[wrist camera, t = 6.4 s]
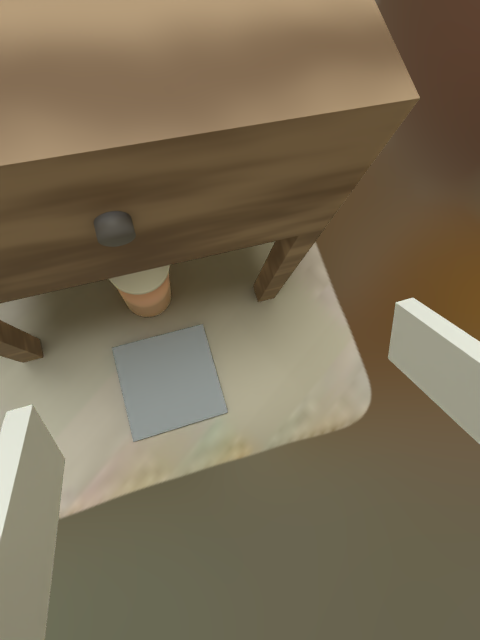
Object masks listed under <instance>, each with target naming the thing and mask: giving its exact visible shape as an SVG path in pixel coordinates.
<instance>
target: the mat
mask: <svg viewBox="0 0 480 640" xmlns="http://www.w3.org/2000/svg"><path fill="white" fill-rule="evenodd" d="M112 351H113V355H114V359H115V364H116V368H117V372H118V377H119V381H120V385H121V390H122V394H123V398H124V403H125V407H126V411H127V416H128V420H129V424H130V429H131V433H132V437H133V442H135V441H138V440H141V439H144V438H147V437H151V436H154V435H157V434H160V433H163V432H167V431H170V430H173V429H176V428H179V427H183V426H186V425H189V424H192V423H195V422H199V421H202V420H205V419H208V418H211V417H215V416H218V415H221V414H224V413H228V411H227V408H226V404H225V400H224V397H223V393H222V390H221V386H220V383H219V379H218V376H217V372H216V369H215V365H214V362H213V358H212V355H211V351H210V348H209V344H208V341H207V337H206V334H205V330H204V327H203V324H201V325H197V326H193V327H189V328H186V329H182V330H178V331H174V332H170V333H166V334H163V335H159V336H155V337H151V338H147V339H143V340H140V341H136V342H132V343H128V344H124V345H120V346H117V347H113V348H112Z"/></svg>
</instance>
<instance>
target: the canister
mask: <svg viewBox="0 0 480 640" xmlns="http://www.w3.org/2000/svg"><path fill="white" fill-rule="evenodd" d="M169 269H170V265H167V266H163V267H158V268H154V269H149V270H145V271H141V272H136V273H132V274H127V275H123V276H119V277H114V278H110V279H109V280H110V281H111V283H112V284H113V285H114V286H115V287H116V288H117V289H118V291H119V293H120V294H121V296H122V298H123V300H124V301H125V303H126V305H127V306H128V308H129V309H130V310H131V311H132V312H133V313H135V314H136V315H139V316H142V317H153V316H156V315H159V314H160V313H162V312H163V311H164V310H165V309H166V308H167V307H168V305H169V303H170V301H171V287H170V279H169Z"/></svg>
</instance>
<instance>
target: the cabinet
mask: <svg viewBox="0 0 480 640" xmlns="http://www.w3.org/2000/svg"><path fill="white" fill-rule="evenodd" d="M419 99H420V97H419V95H418V93H417V91H416V89H415V86H414V84H413V82H412V80H411V78H410V76H409V73H408V71H407V69H406V67H405V65H404V63H403V61H402V59H401V57H400V54H399V52H398V50H397V48H396V45H395V43H394V41H393V39H392V37H391V35H390V33H389V30H388V28H387V26H386V24H385V22H384V20H383V17H382V15H381V13H380V11H379V9H378V7H377V4H376V3H375V0H0V303H4V302H8V301H13V300H17V299H22V298H26V297H30V296H35V295H39V294H44V293H48V292H52V291H57V290H61V289H66V288H70V287H74V286H79V285H83V284H88V283H92V282H97V281H101V280H105V279H110V278H114V277H119V276H123V275H127V274H132V273H136V272H141V271H145V270H149V269H154V268H158V267H163V266H167V265H172V264H176V263H180V262H185V261H189V260H194V259H198V258H202V257H207V256H211V255H216V254H220V253H225V252H229V251H233V250H238V249H242V248H247V247H251V246H255V245H260V244H264V243H269V242H273V241H275V243H274V245H273V247H272V249H271V251H270V253H269V255H268V257H267V259H266V261H265V263H264V265H263V267H262V269H261V271H260V273H259V275H258V278H257V280H256V282H255V284H254V286H253V287H254V291H255V294H256V297H257V300H258V302H260V301H264V300H268V299H272V298H274V297H275V296H276V295H277V293H278V292H279V290H280V289H281V288H282V286H283V285H284V284H285V282H286V281H287V279H288V278H289V277H290V275H291V274H292V273H293V271H294V270H295V269H296V267H297V266H298V264H299V263H300V262H301V260H302V259H303V258H304V256H305V255H306V253H307V252H308V251H309V249H310V248H311V247H312V245H313V244H314V243H315V241H316V240H317V238H318V237H319V236H320V234H321V233H322V231H323V230H324V229H325V227H326V226H327V224H328V223H329V222H330V221H331V219H332V218H333V216H334V215H335V214H336V212H337V211H338V210H339V208H340V207H341V205H342V204H343V203H344V201H345V200H346V199H347V197H348V196H349V195H350V193H351V192H352V190H353V189H354V188H355V186H356V185H357V184H358V182H359V181H360V179H361V178H362V177H363V175H364V174H365V172H366V171H367V170H368V168H369V167H370V166H371V164H372V163H373V162H374V160H375V159H376V158H377V156H378V155H379V153H380V152H381V151H382V149H383V148H384V147H385V145H386V144H387V143H388V141H389V140H390V138H391V137H392V136H393V134H394V133H395V132H396V130H397V129H398V127H399V126H400V125H401V123H402V122H403V121H404V119H405V118H406V116H407V115H408V114H409V112H410V111H411V110H412V108H413V107H414V106H415V104H416V103H417V101H418V100H419ZM0 356H3V357H6V358H10V359H13V360H16V361H20V362H27V361H31V360H35V359H39V358H43V353H42V348H41V342H40V339H38V338H36V337H34V336H32V335H30V334H28V333H26V332H24V331H22V330H20V329H17V328H15V327H13V326H11V325H9V324H7V323H5V322H3V321H1V320H0Z"/></svg>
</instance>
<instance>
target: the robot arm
mask: <svg viewBox="0 0 480 640" xmlns="http://www.w3.org/2000/svg"><path fill="white" fill-rule="evenodd" d="M388 359H389V360H390V361H391V362H392V363H393V364H395V365H396V366H397V367H398V368H399V369H400V370H401V371H402V372H403V373H404V374H405V375H406V376H407V377H408V378H410V379H411V380H412V381H413V382H414V383H415V384H416V385H417V386H418V387H419V388H420V389H421V390H422V391H423V392H424V393H426V394H427V395H428V396H429V397H430V398H431V399H432V400H433V401H434V402H435V403H436V404H437V405H438V406H439V407H440V408H441V409H443V410H444V411H445V412H446V413H447V414H448V415H449V416H450V417H451V418H452V419H453V420H454V421H456V423H458V424H459V425H460V426H461V427H462V428H463V429H464V430H465V431H466V432H467V433H468V434H469V435H470V436H471V437H473V439H475V440H476V441H477V442H478V443H479V444H480V342H479V341H478V340H476V339H475V338H473V337H472V336H470V335H468V334H467V333H466V332H464V331H463V330H461V329H460V328H458V327H457V326H455V325H453V324H452V323H450V322H449V321H447V320H446V319H444V318H443V317H441V316H440V315H438V314H437V313H435V312H434V311H432V310H431V309H429V308H428V307H426V306H425V305H423V304H422V303H420V302H419V301H417V300H416V299H414V298H410V299H407V300H403V301H399V302H396V305H395V312H394V319H393V326H392V334H391V341H390V348H389V356H388ZM64 464H65V458H64V456H63V455H62V453H61V451H60V450H59V448H58V446H57V445H56V443H55V441H54V440H53V438H52V436H51V434H50V433H49V431H48V429H47V428H46V426H45V424H44V423H43V421H42V419H41V418H40V416H39V414H38V413H37V411H36V409H35V407H34V406H33V404H32V405H28V406H25V407H21V408H18V409H14V410H11V411H7V412H6V415H5V418H4V422H3V425H2V428H1V431H0V640H45V633H46V624H47V615H48V605H49V597H50V588H51V579H52V570H53V562H54V553H55V544H56V535H57V526H58V518H59V509H60V500H61V491H62V482H63V473H64Z"/></svg>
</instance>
